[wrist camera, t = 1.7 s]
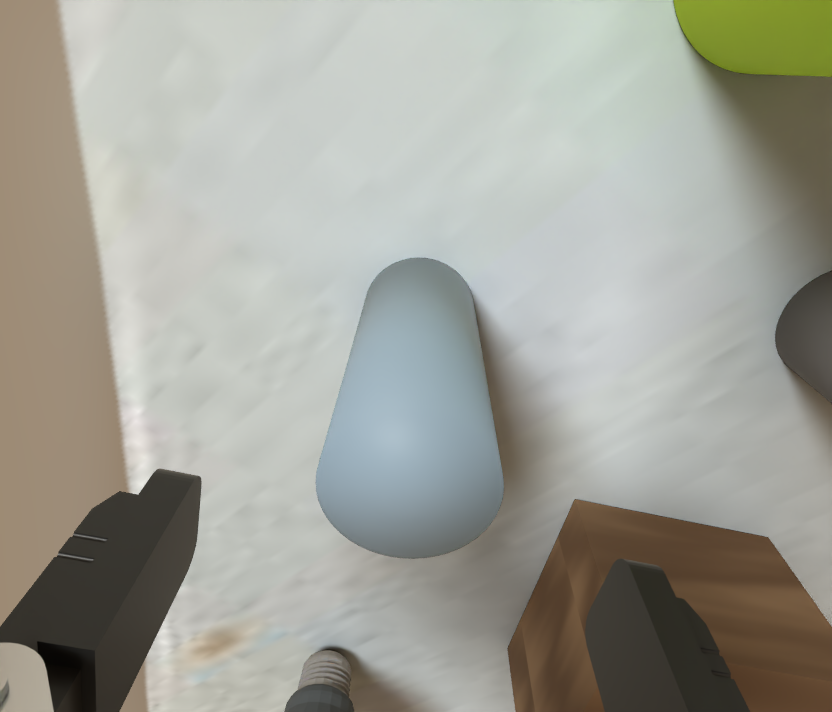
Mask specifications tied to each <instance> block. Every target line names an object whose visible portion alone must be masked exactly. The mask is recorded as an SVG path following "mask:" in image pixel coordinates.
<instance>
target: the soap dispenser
mask: <svg viewBox="0 0 832 712" xmlns="http://www.w3.org/2000/svg"><path fill="white" fill-rule="evenodd" d="M674 6H675V10H676V14H677V17H678V20H679V23H680V25H681V28H682V30H683V32H684V34H685V36H686V37H687V39H688V40H689V42H690V43H691V44H692V46H693V47H694V48H695V49H696V50H697V51H698V52H699V53H700V54H701V55H702V56H703V57H704V58H706V59H707V60H708V61H710V62H711V63H713V64H715V65H717V66H719V67H721V68H723V69H726V70H729V71H732V72H737V73H743V74H763V75H794V76H824V77H832V0H674Z"/></svg>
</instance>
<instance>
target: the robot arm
mask: <svg viewBox="0 0 832 712" xmlns="http://www.w3.org/2000/svg"><path fill="white" fill-rule="evenodd" d="M200 496H201V477H200V476H196V475H191V474H185V473H180V472H175V471H170V470H164V469H157V470H156V471H155V472H154V473H153V475H152V476H151V477H150V479H149V480H148V482H147V483H146V485H145V486H144V488H143V489H142V490H141V492H140V493H139V495H136V494H131V493H126V492H121V491H119V492H118V493H116V494H115V495H113V496H111V497H110V498H108V499H107V500H105V501H104V502H102V503H100V504H99V505H97V506H96V507H94V508H93V509H92V510H91V511H90V512H89V514H88V515H87V516H86V517H85V519H84V520H83V521H82V522H81V524H80V525H79V526H78V528H77V529H76V530H75V531H74V535H73V537H70V538H69V539H68V541H67V542H66V543H65V544H64V546H63V547H62V548H61V549H60V551H59V553H58V556H57V557H54V558H53V560H52V561H51V562H50V564H49V565H48V566H47V567H46V569H45V570H44V571H43V573H42V574H41V575H40V576H39V578H38V579H37V580H36V582H35V583H34V584H33V585H32V587H31V588H30V589H29V590H28V592H27V593H26V594H25V596H24V597H23V598H22V599H21V601H20V602H19V603H18V605H17V606H16V607H15V609H14V610H13V611H12V612H11V614H10V615H9V616H8V617H7V619H6V620H5V621H4V623H3V624H2V625H1V627H0V712H119V711H120V709H121V707H122V705H123V703H124V701H125V699H126V697H127V695H128V693H129V691H130V689H131V687H132V684H133V682H134V680H135V678H136V676H137V674H138V672H139V670H140V668H141V666H142V664H143V662H144V660H145V658H146V656H147V654H148V652H149V650H150V648H151V646H152V644H153V641H154V639H155V637H156V635H157V633H158V631H159V629H160V627H161V625H162V623H163V621H164V619H165V617H166V615H167V613H168V611H169V609H170V607H171V605H172V603H173V600H174V598H175V596H176V594H177V592H178V590H179V588H180V586H181V584H182V582H183V580H184V578H185V576H186V574H187V572H188V569H189V567H190V564H191V561H192V558H193V555H194V551H195V547H196V542H197V534H198V521H199V509H200ZM585 637H586V645H587V649H588V652H589V656H590V660H591V663H592V667H593V671H594V674H595V678H596V682H597V685H598V689H599V692H600V696H601V700H602V703H603V707H604V711H605V712H750V710H749V708H748V706H747V704H746V702H745V700H744V698H743V696H742V694H741V692H740V690H739V688H738V686H737V684H736V682H735V680H734V679H731V672H730V670H729V668H728V666H727V664H726V662H725V660H724V659H723V657H722V656H720V655H719V652H720V651H719V649H718V647H717V645H716V643H715V641H714V639H713V637H712V635H711V633H710V631H709V629H708V627H707V625H706V623H705V622H704V621H703V620H702V619H701V618H700V616H699V615H698V614H697V613H696V612H695V611H694V610H693V608H692V607H691V606H690V605H689V604H688V603H687V602H686V600H685V599H682V598H677V597H676V596H675V593H674V591H673V589H672V587H671V585H670V583H669V581H668V579H667V577H666V574H665V573H664V571H663V570H662V568H661V567H659V566H657V565H653V564H647V563H642V562H637V561H632V560H626V559H617V560H616V561H615V562H614V563H613V565H612V567H611V569H610V571H609V573H608V575H607V577H606V578H605V580H604V582H603V584H602V586H601V588H600V590H599V592H598V594H597V596H596V598H595V600H594V602H593V604H592V606H591V608H590V610H589V612H588V615H587V620H586V627H585Z"/></svg>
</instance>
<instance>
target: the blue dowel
mask: <svg viewBox="0 0 832 712" xmlns="http://www.w3.org/2000/svg"><path fill="white" fill-rule="evenodd" d="M316 492H317V496H318V500H319V503H320V505H321V508H322V510H323V512H324V513H325V515H326V517H327V518H328V520H329V521H330V522H331V524H332V525H333V526H334V527H335V528H336V529H337V530H338V531H339V532H340V533H341V534H342V535H344V536H345V537H346V538H348V539H349V540H350V541H352V542H354V543H355V544H357V545H359V546H361V547H363V548H365V549H367V550H369V551H372V552H375V553H378V554H382V555H386V556H390V557H397V558H411V559H415V558H427V557H434V556H439V555H442V554H446V553H449V552H452V551H454V550H457V549H459V548H461V547H463V546H465V545H467V544H468V543H470V542H471V541H473V540H474V539H476V538H477V537H478V536H479V535H481V534H482V533H483V532H484V531H485V530H486V529H487V528H488V526H489V525H490V524H491V523H492V521H493V520H494V518H495V517H496V515H497V513H498V511H499V508H500V506H501V502H502V499H503V492H504V479H503V473H502V467H501V461H500V455H499V449H498V443H497V437H496V432H495V426H494V420H493V414H492V408H491V402H490V396H489V390H488V385H487V379H486V373H485V367H484V361H483V355H482V349H481V344H480V338H479V332H478V326H477V320H476V314H475V308H474V302H473V298H472V294H471V291H470V289H469V287H468V285H467V283H466V282H465V280H464V279H463V278H462V277H461V276H460V274H459V273H458V272H456V271H455V270H454V269H453V268H451V267H450V266H448V265H446V264H444V263H442V262H440V261H437V260H433V259H428V258H409V259H405V260H401V261H398V262H396V263H394V264H392V265H390V266H388V267H387V268H385V269H384V270H383V271H382V272H381V273H380V274H378V276H377V277H376V278H375V279H374V281H373V282H372V284H371V286H370V288H369V290H368V292H367V296H366V299H365V303H364V306H363V310H362V313H361V317H360V320H359V324H358V327H357V331H356V334H355V338H354V341H353V345H352V348H351V352H350V356H349V359H348V363H347V366H346V370H345V373H344V377H343V380H342V384H341V387H340V391H339V394H338V398H337V401H336V405H335V408H334V412H333V415H332V419H331V422H330V426H329V429H328V433H327V436H326V440H325V443H324V447H323V450H322V454H321V457H320V461H319V465H318V468H317V473H316Z"/></svg>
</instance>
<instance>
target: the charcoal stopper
mask: <svg viewBox="0 0 832 712" xmlns="http://www.w3.org/2000/svg"><path fill="white" fill-rule="evenodd" d="M775 342H776V348H777V351H778V354H779V355H780V357H781V359H782V360H783V362H784V363H785V364H786V365H787V366H788V367H789V368H791V369H792V370H793V371H794V372H795V373H797V374H798V375H799V376H800V377H801V378H802V379H804V380H805V381H806V382H807V383H808V384H809V385H811V386H812V387H813V388H814V389H815V390H817V391H818V392H819V393H820V394H821V395H822V396H824V397H825V398H826V399H827V400H828V401H829V402H831V403H832V271H830V272H828V273H825V274H823V275H821V276H819V277H817V278H816V279H814V280H812V281H811V282H809V283H808V284H806V285H805V286H804V287H803V288H802V289H800V290H799V291H798V292H797V293H796V294H795V295H794V296H793V297H792V299H791V300H790V301H789V302H788V304H787V305H786V307H785V308H784V310H783V312H782V314H781V316H780V318H779V321H778V324H777V327H776V333H775Z"/></svg>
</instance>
